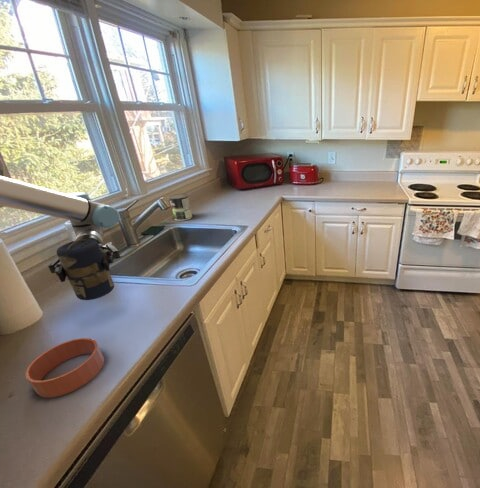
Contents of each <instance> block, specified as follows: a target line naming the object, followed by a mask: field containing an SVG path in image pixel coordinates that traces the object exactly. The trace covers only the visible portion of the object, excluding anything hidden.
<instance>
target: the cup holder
mask: <svg viewBox="0 0 480 488" xmlns="http://www.w3.org/2000/svg"><path fill="white" fill-rule="evenodd" d="M87 354H91V355H90V356H89V357H88V358H87V359H86V360H85V361H84V362H83V363H81V364H80V365H79V366H77V367H76V368H74V369H72V370H70V371H68V372H66V373H64V374H61V375H59V376H56V377H53V378H49V379H45V380H43V379H44V378H45V377H46V375H47V374H48V373H50V371H52V370H53V369H55V367H57V366H59V365H61V364H62V363H64V362H65V361H68V360H70V359H72V358H75V357H78V356H82V355H87ZM104 365H105V357H104V354H103V353H102V350H101V348H100V347H99V345H98V343H97V341H96V340H95V339H93V338H90V337H80V338H75V339H70V340H67V341H64V342H62V343H59V344H57V345H55V346H53V347H51V348H49V349H47V350H46V351H44V352H42V353H41V354H40V355H38V357H36V358H34V359H33V361H32V362H31V363H30V364H29V365H28V367H27V368H26V371H25V379H26V380H27V382H28V383H29V385H30V386H31V387H32V389H33V390H34V392H35V393H36V394H37V395H38V396H40V397H41V398H55V397H61V396H64V395H67V394H69V393H72V392H74V391H76V390H78V389H79V388H81V387H83V386H85V385H86V384H87V383H89V382H90V381H92V380H93V379H94V378H95V377H96V376H97V375H98V374H99V373H100V371H101V370H102V368H103V367H104Z"/></svg>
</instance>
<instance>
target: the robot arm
mask: <svg viewBox="0 0 480 488" xmlns="http://www.w3.org/2000/svg"><path fill="white" fill-rule="evenodd" d="M0 206H1V207H5V208H10V209H15V210H20V211H26V212H30V213H35V214H39V215H44V216H49V217H54V218H58V219H63V220H64V219H65V220H68V221H69V222H70V224H71V227H72V230H73V232H74V234H75V238H74V241H77V240H83V239H91V240H95V241H97V243H98V244H99V247H100V249H101V252H102V255H103V264H104V266H105V269H106V271H109V272H110V264H113V263H114V259H120V258H121V254H120V253H119V250H118V249H117V248H116V247H115V246H114V245H113V243H112V241H108V242H107V243H105V245H103V243H104V235H105V233H104V229H103V228H106V229H107V228H108V229H109V228H112V227H114V226H116V225H117V224H118V222H119V221H120V212H119V211H118V209H116V208H115V207H114V206H111V205H109V204H106V203H101V202H97V201H93V200H91V198H90V196H89V194H88V193H87V192H84V191H75V192H69V193H64V192H60V191H57V190H54V189H50V188H46V187H43V186H39V185H35V184H32V183H28V182H24V181H21V180H17V179H13V178H10V177H7V176H3V175H0ZM47 267H48V269H49V271H50V273H51V274H55V275H56V276H57V277H58V278H59V280H60V283H64V282H66V280H67V279H66V278H67V276H66V273H65V271H64V269H63V267H62V264H61V262H60V260H59V258H58V255H57V256H56V257H55V258H54V259H53V260H52V261H51V262H50V263H49V264H48V265H47Z"/></svg>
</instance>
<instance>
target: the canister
mask: <svg viewBox="0 0 480 488" xmlns="http://www.w3.org/2000/svg"><path fill="white" fill-rule="evenodd" d="M56 255H57V256H58V258H59V260H60V262H61V264H62V267H63V269H64V271H65V273H66V278H67V279H68V281H69V284H70V286H71V288H72V290H73V292H74V295H75V296H76V298H77V299H78V300H80V301H92V300H97V299H100V298H103V297H104V296H107V295H108V294H110V293H111V292H112V291H113V290H114V288H115V283H114V281H113V278H112V276H111V273H110V270H109V271H106V269H105V266H104V264H103V255H102V252H101V249H100V247H99V244H98V243H97V241H95V240H91V239H83V240H77V241H75V240H73V241H70V242H66V243H64V244H62V245H60V246H58V248H57V249H56Z"/></svg>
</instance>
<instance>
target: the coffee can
mask: <svg viewBox="0 0 480 488" xmlns="http://www.w3.org/2000/svg"><path fill="white" fill-rule="evenodd" d="M168 200H169V203H170V206H171V210H172V214H173V218H174V221H177V222H185V221H188V220H190V219H192V218H193V214H192V209H191V205H190V201H189V194H187V193H176V194H171V195H170V196H168Z"/></svg>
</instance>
